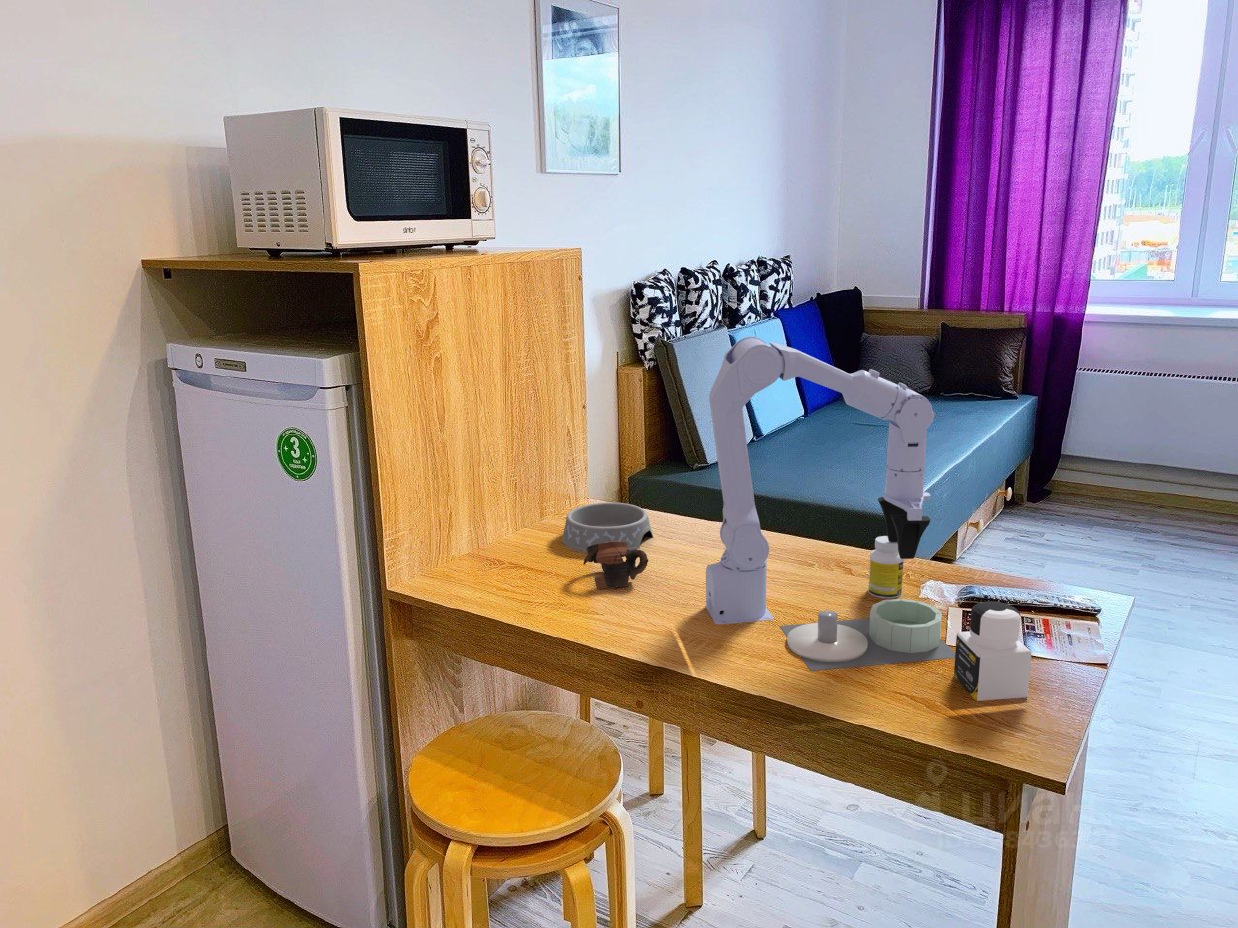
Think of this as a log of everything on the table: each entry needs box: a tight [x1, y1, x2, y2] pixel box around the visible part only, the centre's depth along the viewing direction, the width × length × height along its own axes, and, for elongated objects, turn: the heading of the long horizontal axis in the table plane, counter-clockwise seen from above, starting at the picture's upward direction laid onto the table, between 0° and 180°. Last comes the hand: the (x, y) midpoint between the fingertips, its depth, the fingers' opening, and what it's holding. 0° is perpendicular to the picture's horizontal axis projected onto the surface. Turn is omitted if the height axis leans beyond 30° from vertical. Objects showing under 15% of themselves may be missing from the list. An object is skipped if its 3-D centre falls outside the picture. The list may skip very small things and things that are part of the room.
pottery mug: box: [582, 541, 649, 590], centre depth 170 cm, size 12×10×8 cm
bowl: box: [869, 598, 943, 653], centre depth 143 cm, size 10×10×4 cm
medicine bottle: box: [953, 600, 1032, 702], centre depth 127 cm, size 7×7×12 cm
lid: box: [786, 610, 868, 662], centre depth 142 cm, size 12×12×5 cm
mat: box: [779, 617, 955, 672], centre depth 143 cm, size 22×15×1 cm
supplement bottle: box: [867, 535, 905, 599], centre depth 159 cm, size 5×5×10 cm
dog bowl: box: [561, 501, 654, 554], centre depth 191 cm, size 17×18×5 cm
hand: (900, 549), depth 153 cm, fingers open, 7 cm apart
